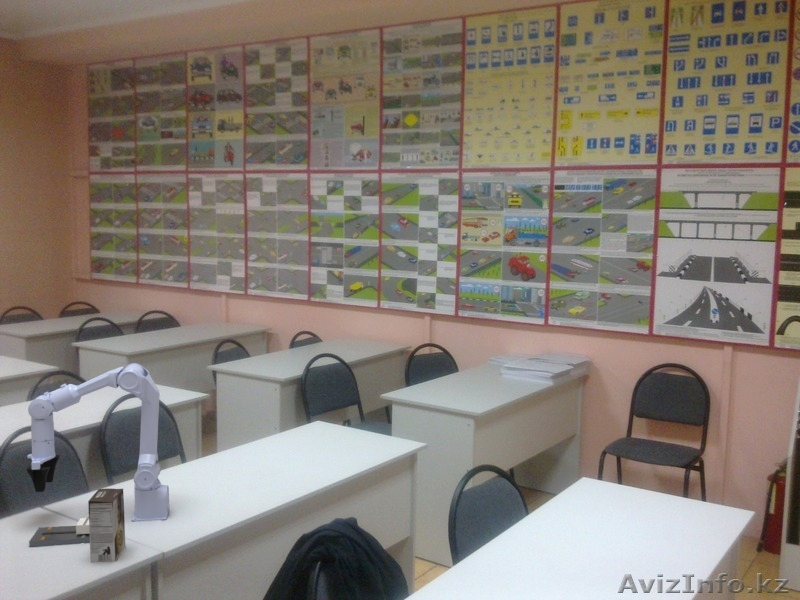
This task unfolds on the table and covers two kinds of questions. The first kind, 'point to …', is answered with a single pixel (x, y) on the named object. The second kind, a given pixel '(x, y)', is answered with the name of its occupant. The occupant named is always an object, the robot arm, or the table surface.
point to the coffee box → (106, 525)
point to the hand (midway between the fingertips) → (44, 486)
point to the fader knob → (83, 526)
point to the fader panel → (58, 536)
